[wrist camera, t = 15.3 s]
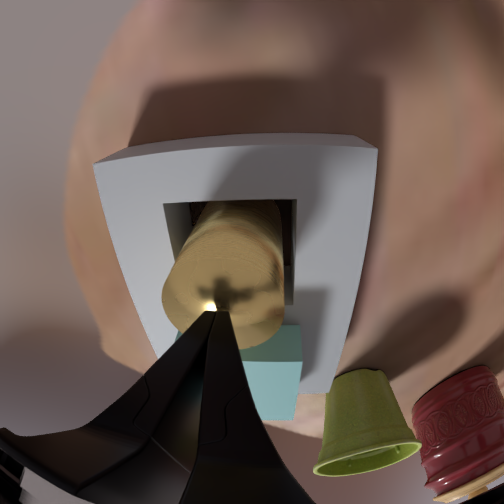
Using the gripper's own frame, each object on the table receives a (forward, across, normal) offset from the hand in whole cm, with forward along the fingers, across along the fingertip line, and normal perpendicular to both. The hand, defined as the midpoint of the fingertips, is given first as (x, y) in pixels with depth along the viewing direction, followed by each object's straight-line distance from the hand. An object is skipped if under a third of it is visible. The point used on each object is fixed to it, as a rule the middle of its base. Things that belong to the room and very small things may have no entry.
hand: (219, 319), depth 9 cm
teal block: (+4, 0, +8) cm, 8 cm away
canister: (+8, -26, +24) cm, 36 cm away
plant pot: (+8, -10, +17) cm, 21 cm away
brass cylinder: (+7, 0, 0) cm, 7 cm away
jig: (+7, 0, +4) cm, 8 cm away
